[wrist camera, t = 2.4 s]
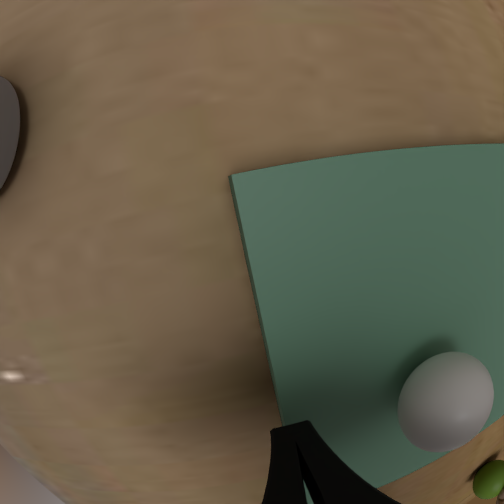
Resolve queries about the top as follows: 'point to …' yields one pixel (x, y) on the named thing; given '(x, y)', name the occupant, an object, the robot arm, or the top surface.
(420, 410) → the ball
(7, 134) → the beverage can
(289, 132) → the top surface
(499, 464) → the snail figurine
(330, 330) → the putting board
